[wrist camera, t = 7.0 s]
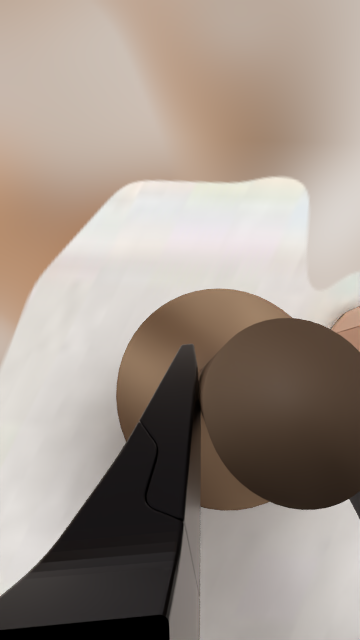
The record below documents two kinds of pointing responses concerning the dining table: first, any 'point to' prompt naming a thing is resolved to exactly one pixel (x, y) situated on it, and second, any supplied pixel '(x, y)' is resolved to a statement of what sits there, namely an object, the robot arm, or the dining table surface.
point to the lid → (255, 399)
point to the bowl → (349, 327)
